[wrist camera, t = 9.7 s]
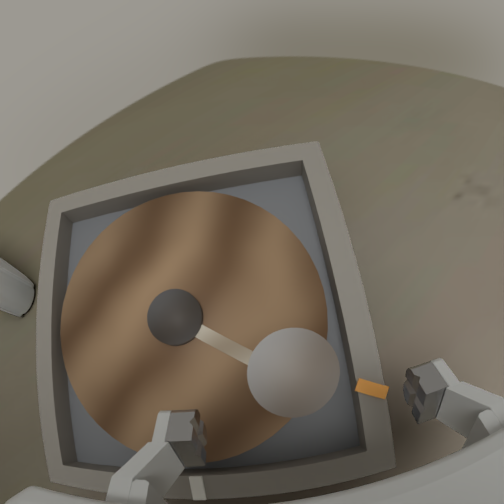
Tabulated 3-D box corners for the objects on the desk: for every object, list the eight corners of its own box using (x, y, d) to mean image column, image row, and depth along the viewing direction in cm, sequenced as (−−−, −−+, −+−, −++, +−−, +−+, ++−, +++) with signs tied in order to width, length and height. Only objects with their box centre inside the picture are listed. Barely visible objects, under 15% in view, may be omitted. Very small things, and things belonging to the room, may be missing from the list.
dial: (39, 362, 21) (-60, 335, 12) (152, 174, 27) (102, 83, 17) (241, 505, 16) (205, 587, 7) (366, 261, 22) (415, 170, 12)
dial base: (73, 475, 19) (48, 482, 15) (67, 217, 28) (49, 199, 25) (385, 456, 18) (400, 467, 15) (318, 165, 27) (321, 139, 24)
